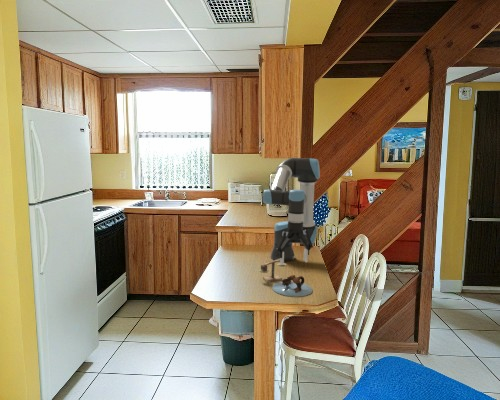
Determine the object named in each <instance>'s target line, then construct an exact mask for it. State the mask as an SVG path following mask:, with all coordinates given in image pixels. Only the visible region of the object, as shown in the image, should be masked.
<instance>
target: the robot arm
mask: <svg viewBox="0 0 500 400" xmlns="http://www.w3.org/2000/svg"><path fill="white" fill-rule="evenodd" d="M320 168H321V167H320V161H319V160H318V159H317V158H311V157H310V158H309V157H302V158H301V157H289V158H286V159H285V160H283V161H282V162H280V163H279V164H278V165H277V167H276V169H275V176H274V179H273V180H272V181H273V182H272V183H271V186H270V188H268V189H264V191H263V193H262V201H263V202H262V203H264V204H265V205H275V206H287V207H288V211H287V212H288V215H287V216H288V217H287V221H279V222H276V223H275V225H274V233H273V234H274V235H273V237H274V238H273V247H272V249H271V253H270V258H271V260H273V261H275V260H278V259H280V261H279V263H280V264H281V265H284V263H285V262H290V261H293V260H295V257H296V256H295V252H294V249H293V244H301V245H303V246H304V248H303V259H302V260H303V262H305V263H308V259H309V258H308V257H309V255H310V250H311V249H313V247H314V246H313V245H314V244H315V243H316V237H317V233H318V226H317V225H316V222H315V221H314V202H315V201H314V200H315V184H316V183H317V182H318V180H319V179H320V178H321V170H320ZM290 178H297V182H298V183H299V189H290V190H286V187H287V184H288V181H289V179H290Z"/></svg>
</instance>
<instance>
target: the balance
mask: <svg viewBox="0 0 500 400" xmlns="http://www.w3.org/2000/svg"><path fill="white" fill-rule="evenodd" d="M278 262H279V263H278ZM275 263H276V264H275ZM269 265H271V275H270V276H269V275H268V276H263V277H262V279H263V281H265V282H266V283H270V282H278V281H279V282H282V280H283V277H282V276H281V275H277V274H276V275H275V265H276V266H277V267H283V268H284V267H287V266H288V264H287V263H285V262H284V265H281V264H280V259H278V260H272V261H269V262H267V263H263V264H260V269H258V272H259V273H262V274H265V273H269V272H270V271H269V269H268V266H269Z"/></svg>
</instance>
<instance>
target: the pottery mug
mask: <svg viewBox="0 0 500 400" xmlns="http://www.w3.org/2000/svg"><path fill="white" fill-rule="evenodd" d="M281 282H282V285H284V286H285V285H286V286H289V284H291V282H294V283H295V284H296V285H297V287H296V288H295V289H294V290H295V293H297V292H299V291H301V290H302V289H301V286H302V285H303V284H305V278H304V277H303V276H302V275H300V276H298V277H297V276H296V275H295V274H292V275H289V276H287V278H282V280H281Z"/></svg>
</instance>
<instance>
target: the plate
mask: <svg viewBox="0 0 500 400" xmlns="http://www.w3.org/2000/svg"><path fill="white" fill-rule="evenodd" d="M296 287H297V285H296V284H295V283H294V282H293V281H291V284H289V286H286V285H285V286H284V285H282V281H279V282H277V283H274V284H273V285H272V290H273V292H274V293H277V294H279V295H281V296H285V297H291V298H292V297H295V298H296V297H297V298H300V297H307V296H308V295H310V294H312V293H313V288H312V286H310V285H309V284H307V283H303V285H302V286H301V289H302V290H301V291H299V292H297V293H295V290H294V289H295V288H296Z"/></svg>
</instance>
